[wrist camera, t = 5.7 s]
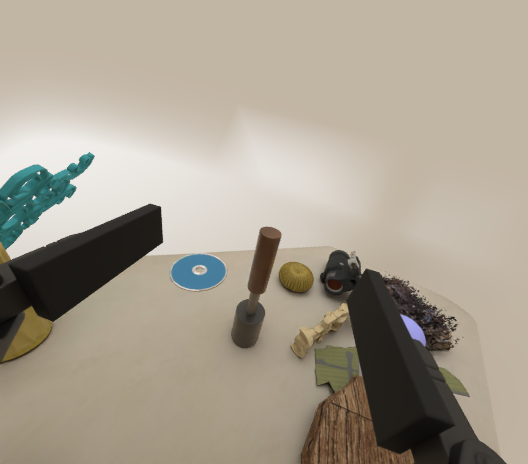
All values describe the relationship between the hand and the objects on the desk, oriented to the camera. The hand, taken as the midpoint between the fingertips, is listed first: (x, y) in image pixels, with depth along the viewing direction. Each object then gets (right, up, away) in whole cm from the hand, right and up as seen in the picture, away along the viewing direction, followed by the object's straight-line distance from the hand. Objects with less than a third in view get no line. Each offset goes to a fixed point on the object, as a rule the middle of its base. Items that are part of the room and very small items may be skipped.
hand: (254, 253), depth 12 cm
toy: (+6, -16, +17) cm, 24 cm away
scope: (+24, -6, +32) cm, 40 cm away
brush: (-3, -16, +20) cm, 25 cm away
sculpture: (+10, -11, +29) cm, 33 cm away
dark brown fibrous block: (+31, -17, +32) cm, 48 cm away
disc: (-10, -10, +26) cm, 30 cm away
